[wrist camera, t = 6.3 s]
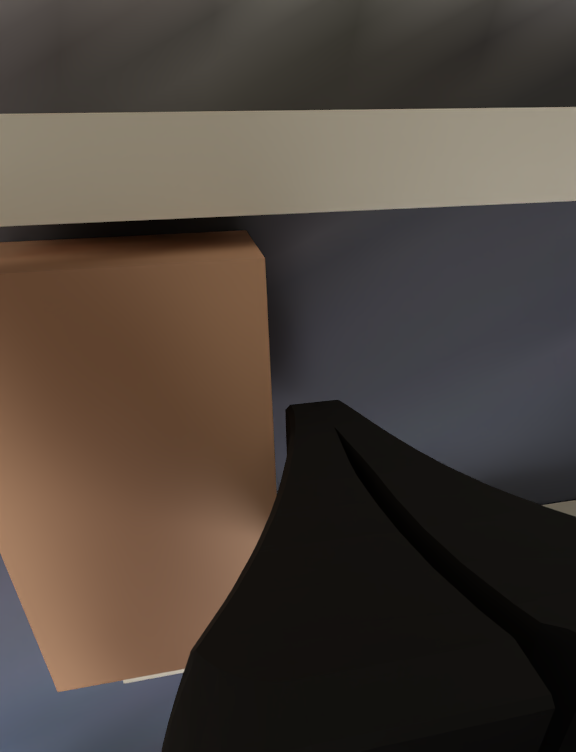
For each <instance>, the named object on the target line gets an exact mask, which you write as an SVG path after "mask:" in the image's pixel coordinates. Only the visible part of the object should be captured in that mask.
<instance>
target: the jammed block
mask: <svg viewBox="0 0 576 752" xmlns="http://www.w3.org/2000/svg"><path fill="white" fill-rule="evenodd" d="M276 496H277V493H276V473H275V452H274V432H273V411H272V391H271V371H270V350H269V330H268V309H267V289H266V268H265V258H264V256H263V255H262V253H261V252H260V250H259V249H258V247H257V246H256V244H255V243H254V241H253V240H252V238H251V237H250V235H249V234H248V232H247V231H246V230H241V231H221V232H201V233H180V234H160V235H140V236H119V237H99V238H79V239H59V240H38V241H18V242H0V553H1V556H2V558H3V561H4V563H5V565H6V568H7V570H8V573H9V575H10V578H11V580H12V582H13V585H14V587H15V590H16V592H17V594H18V597H19V599H20V602H21V604H22V607H23V609H24V611H25V614H26V616H27V619H28V621H29V624H30V626H31V628H32V631H33V633H34V636H35V638H36V640H37V643H38V645H39V648H40V650H41V653H42V655H43V657H44V660H45V662H46V665H47V667H48V670H49V672H50V674H51V677H52V679H53V682H54V684H55V686H56V689H57V691H58V692H61V691H66V690H72V689H77V688H83V687H88V686H94V685H99V684H105V683H110V682H116V681H121V680H127V679H132V678H137V677H143V676H148V675H154V674H159V673H165V672H170V671H176V670H181V669H185V667H186V664H187V661H188V658H189V655H190V651H191V650H192V648H193V647H194V645H195V644H196V642H197V641H198V639H199V638H200V636H201V635H202V634H203V632H204V631H205V629H206V628H207V626H208V625H209V623H210V622H211V620H212V619H213V617H214V616H215V614H216V613H217V612H218V610H219V609H220V607H221V606H222V604H223V603H224V601H225V600H226V598H227V596H228V595H229V593H230V592H231V590H232V588H233V587H234V585H235V583H236V581H237V579H238V578H239V576H240V574H241V572H242V570H243V569H244V567H245V565H246V563H247V562H248V560H249V558H250V556H251V554H252V552H253V550H254V548H255V547H256V544H257V542H258V540H259V538H260V536H261V534H262V531H263V529H264V527H265V524H266V522H267V520H268V517H269V515H270V513H271V510H272V507H273V504H274V502H275V499H276Z"/></svg>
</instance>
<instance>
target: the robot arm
mask: <svg viewBox="0 0 576 752" xmlns="http://www.w3.org/2000/svg"><path fill="white" fill-rule="evenodd" d="M286 441H287V458H286V463H285V467H284V471H283V475H282V480H281V483H280V486H279V490H278V493H277V496H276V499H275V502H274V504H273V507H272V510H271V513H270V515H269V517H268V520H267V522H266V524H265V527H264V529H263V531H262V534H261V536H260V538H259V540H258V542H257V544H256V547H255V548H254V550H253V552H252V554H251V556H250V558H249V560H248V562H247V563H246V565H245V567H244V569H243V570H242V572H241V574H240V576H239V578H238V579H237V581H236V583H235V585H234V587H233V588H232V590H231V592H230V593H229V595H228V596H227V598H226V600H225V601H224V603H223V604H222V606H221V607H220V609H219V610H218V612H217V613H216V614H215V616H214V617H213V619H212V620H211V622H210V623H209V625H208V626H207V628H206V629H205V631H204V632H203V634H202V635H201V636H200V638H199V639H198V641H197V642H196V644H195V645H194V647H193V648H192V650H191V651H190V655H189V658H188V661H187V664H186V667H185V670H184V673H183V676H182V679H181V682H180V685H179V688H178V691H177V695H176V698H175V701H174V705H173V708H172V712H171V715H170V718H169V722H168V726H167V730H166V734H165V738H164V742H163V747H162V752H576V517H575V516H572V515H569V514H566V513H563V512H560V511H557V510H554V509H551V508H548V507H545V506H542V505H539V504H537V503H534V502H531V501H528V500H526V499H523V498H520V497H518V496H515V495H512V494H509V493H507V492H504V491H502V490H499V489H497V488H494V487H492V486H489V485H487V484H485V483H482V482H480V481H478V480H476V479H474V478H471V477H469V476H467V475H465V474H463V473H460V472H458V471H456V470H454V469H452V468H450V467H448V466H446V465H444V464H442V463H440V462H438V461H436V460H434V459H433V458H431V457H429V456H427V455H425V454H424V453H422V452H420V451H418V450H416V449H414V448H413V447H411V446H409V445H408V444H406V443H404V442H403V441H401V440H399V439H398V438H396V437H394V436H393V435H391V434H390V433H388V432H387V431H385V430H383V429H382V428H380V427H379V426H377V425H376V424H374V423H373V422H371V421H370V420H368V419H367V418H365V417H364V416H362V415H361V414H359V413H358V412H356V411H355V410H353V409H352V408H350V407H349V406H347V405H346V404H344V403H342V402H341V401H339V400H332V401H323V402H313V403H303V404H294V405H290V406H289V407H288V408H287V409H286Z"/></svg>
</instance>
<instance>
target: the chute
mask: <svg viewBox="0 0 576 752" xmlns="http://www.w3.org/2000/svg"><path fill="white" fill-rule="evenodd" d="M561 201H576V107H534V108H450V109H367V110H283V111H199V112H115V113H31V114H0V227H2V226H25V225H47V224H69V223H92V222H114V221H136V220H159V219H181V218H204V217H226V216H248V215H271V214H293V213H315V212H338V211H360V210H382V209H405V208H427V207H450V206H472V205H494V204H517V203H539V202H561ZM542 506H545V507H548V508H551V509H554V510H557V511H560V512H563V513H566V514H569V515H572V516H575V517H576V500H573V501H566V502H559V503H553V504H546V505H542ZM184 670H185V669H181V670H176V671H170V672H165V673H159V674H154V675H148V676H143V677H137V678H132V679H127V680H123V682H124V683H130V682H135V681H141V680H146V679H152V678H157V677H162V676H168V675H173V674H179V673H184Z"/></svg>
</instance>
